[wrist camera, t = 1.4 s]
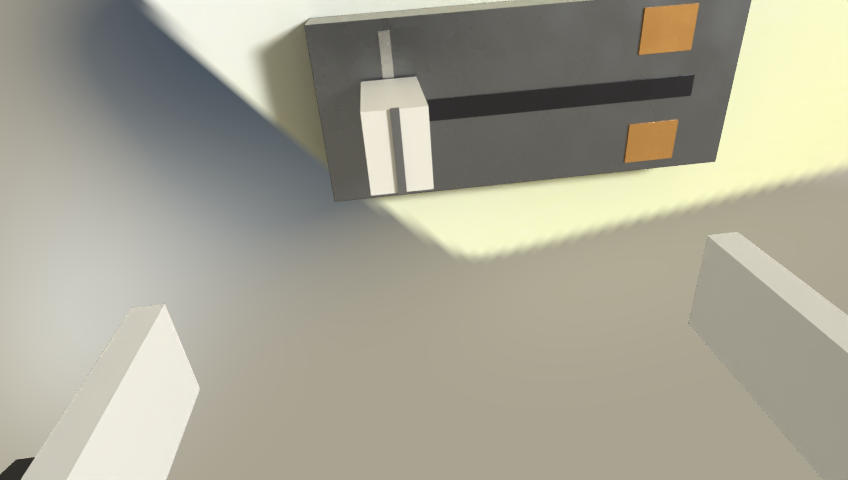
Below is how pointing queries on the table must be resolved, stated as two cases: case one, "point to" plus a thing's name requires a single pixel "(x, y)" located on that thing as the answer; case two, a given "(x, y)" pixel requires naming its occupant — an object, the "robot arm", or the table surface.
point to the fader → (396, 136)
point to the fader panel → (534, 85)
